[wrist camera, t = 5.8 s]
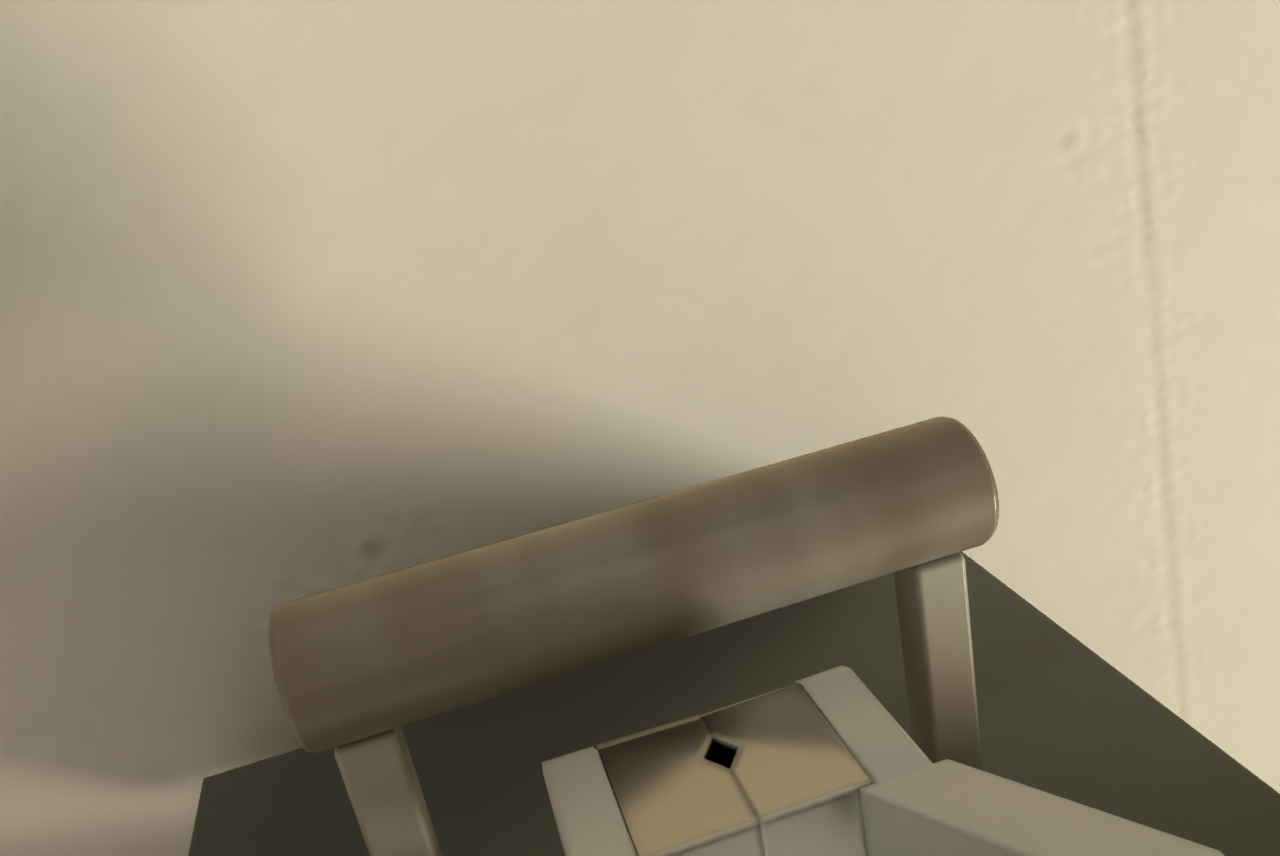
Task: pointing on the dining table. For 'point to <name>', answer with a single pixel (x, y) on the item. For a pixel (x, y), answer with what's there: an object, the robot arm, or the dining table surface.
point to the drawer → (702, 663)
